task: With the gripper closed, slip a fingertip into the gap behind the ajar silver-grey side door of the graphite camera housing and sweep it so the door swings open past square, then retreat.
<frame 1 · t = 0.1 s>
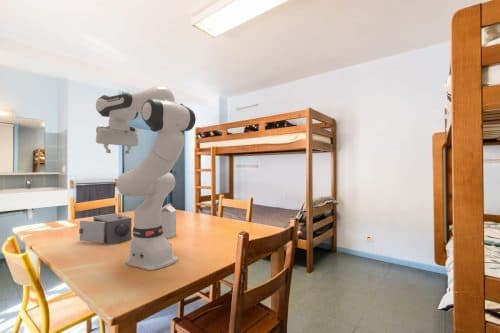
hand: (118, 153, 124), 48 cm above the table, fingers open, 8 cm apart
housing: (112, 238, 132), on the table
milk carton: (167, 236, 137), on the table
door: (92, 231, 123), point 6 cm above the table, hinge at 25.0°
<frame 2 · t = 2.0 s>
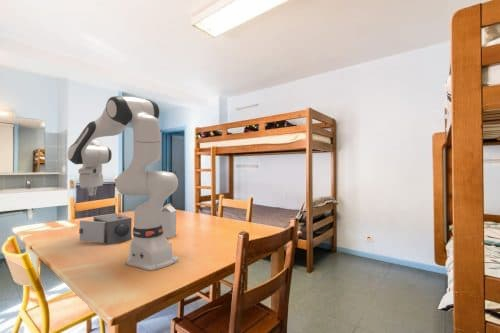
hand: (92, 195, 127), 25 cm above the table, fingers closed
nothing on the table moved.
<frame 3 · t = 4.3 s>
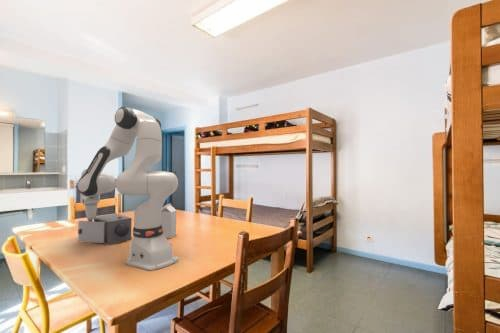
hand: (90, 224, 126), 10 cm above the table, fingers closed
door: (91, 231, 123), point 6 cm above the table, hinge at 27.9°, touching gripper
everything else where it was.
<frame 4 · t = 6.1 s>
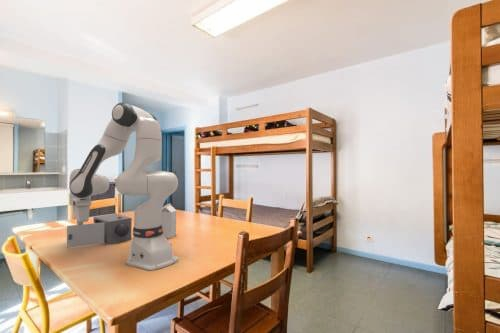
hand: (79, 227, 118), 10 cm above the table, fingers closed
door: (87, 234, 118), point 6 cm above the table, hinge at 68.5°, touching gripper
everything else where it was.
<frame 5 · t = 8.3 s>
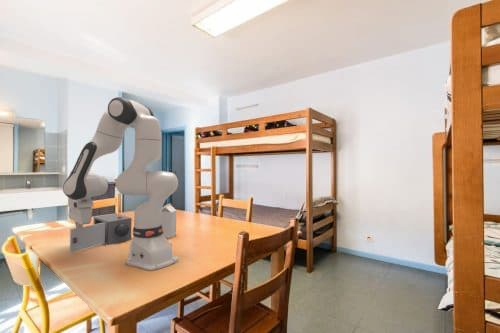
hand: (79, 230, 113), 10 cm above the table, fingers closed
door: (90, 236, 115), point 6 cm above the table, hinge at 100.1°, touching gripper
everything else where it was.
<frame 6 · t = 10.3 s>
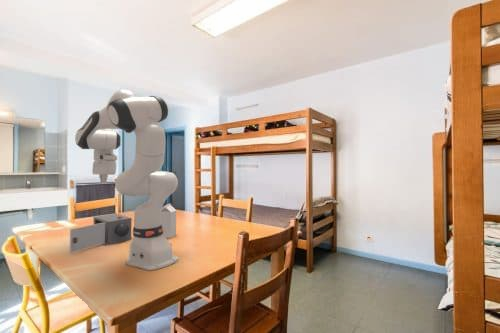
hand: (103, 183, 122), 32 cm above the table, fingers closed
door: (90, 236, 115), point 6 cm above the table, hinge at 100.1°
everything else where it was.
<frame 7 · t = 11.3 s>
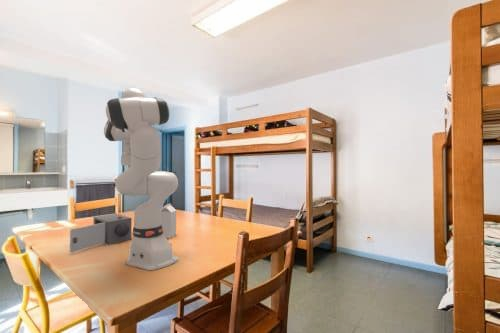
hand: (131, 173, 131), 37 cm above the table, fingers closed
nothing on the table moved.
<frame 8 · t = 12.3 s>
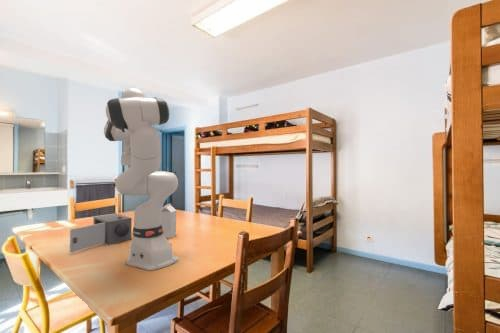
hand: (131, 173, 131), 37 cm above the table, fingers closed
nothing on the table moved.
at the end: door at +100° (first picture: +25°); door touching nothing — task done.
